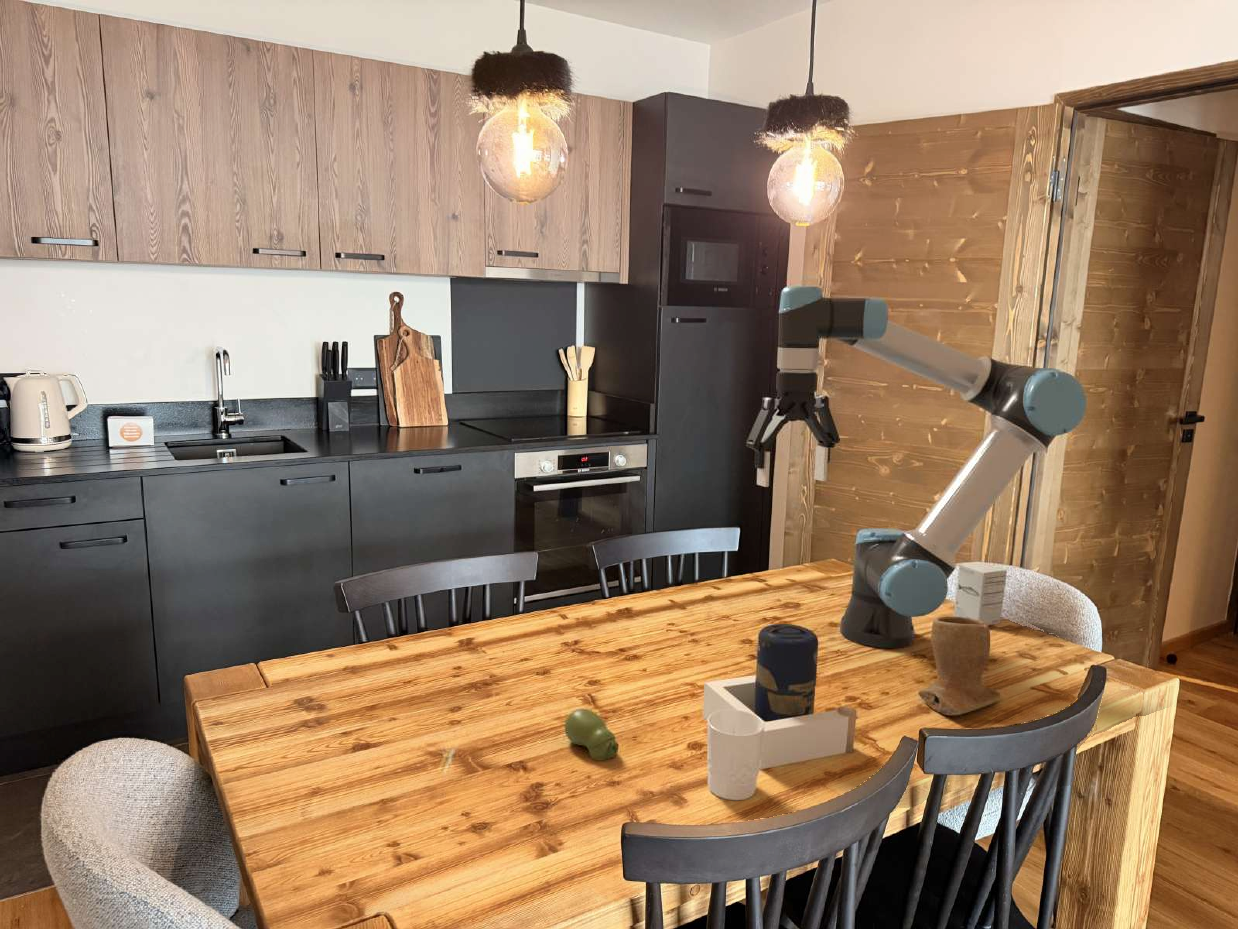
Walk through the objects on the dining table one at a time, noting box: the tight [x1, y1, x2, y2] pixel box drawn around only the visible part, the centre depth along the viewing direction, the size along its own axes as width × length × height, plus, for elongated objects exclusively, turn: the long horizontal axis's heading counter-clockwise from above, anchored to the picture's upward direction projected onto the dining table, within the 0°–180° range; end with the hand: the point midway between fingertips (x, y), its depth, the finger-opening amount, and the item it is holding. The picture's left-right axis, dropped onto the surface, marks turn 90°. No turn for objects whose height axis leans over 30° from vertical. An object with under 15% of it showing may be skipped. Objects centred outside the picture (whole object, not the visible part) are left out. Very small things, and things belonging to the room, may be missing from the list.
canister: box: [755, 623, 819, 722], centre depth 138 cm, size 10×10×18 cm
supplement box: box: [953, 561, 1008, 626], centre depth 196 cm, size 7×7×13 cm
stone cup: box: [917, 616, 1002, 717], centre depth 152 cm, size 15×12×15 cm
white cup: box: [706, 710, 764, 801], centre depth 122 cm, size 8×8×10 cm
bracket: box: [702, 674, 857, 770], centre depth 139 cm, size 17×18×6 cm
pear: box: [564, 708, 619, 762], centre depth 132 cm, size 6×5×10 cm
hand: (791, 483), depth 165 cm, fingers open, 13 cm apart
